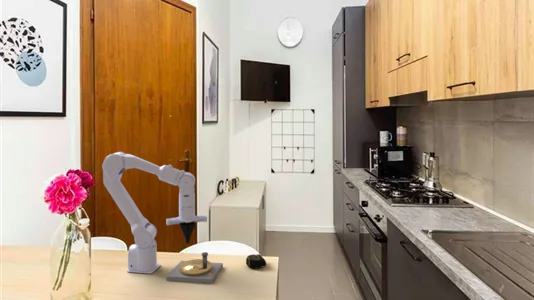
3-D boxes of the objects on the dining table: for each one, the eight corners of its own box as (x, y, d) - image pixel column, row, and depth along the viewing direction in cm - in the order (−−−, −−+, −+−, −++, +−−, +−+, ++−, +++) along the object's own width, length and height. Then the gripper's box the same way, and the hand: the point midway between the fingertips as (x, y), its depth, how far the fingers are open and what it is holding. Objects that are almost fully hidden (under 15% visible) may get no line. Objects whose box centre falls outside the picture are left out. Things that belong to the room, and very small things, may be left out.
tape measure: (266, 269, 133) (266, 259, 132) (248, 271, 131) (248, 261, 130) (261, 262, 139) (261, 252, 139) (244, 264, 137) (244, 254, 137)
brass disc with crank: (173, 270, 126) (173, 251, 126) (196, 260, 135) (196, 243, 135) (195, 278, 120) (195, 258, 119) (218, 268, 129) (218, 249, 128)
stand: (166, 280, 122) (166, 275, 122) (181, 264, 136) (181, 260, 136) (212, 283, 120) (212, 279, 120) (222, 267, 134) (222, 262, 133)
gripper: (167, 210, 125) (168, 248, 126) (209, 206, 131) (209, 243, 132) (165, 205, 132) (165, 241, 133) (204, 202, 137) (204, 237, 138)
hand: (187, 242), depth 133 cm, fingers closed
